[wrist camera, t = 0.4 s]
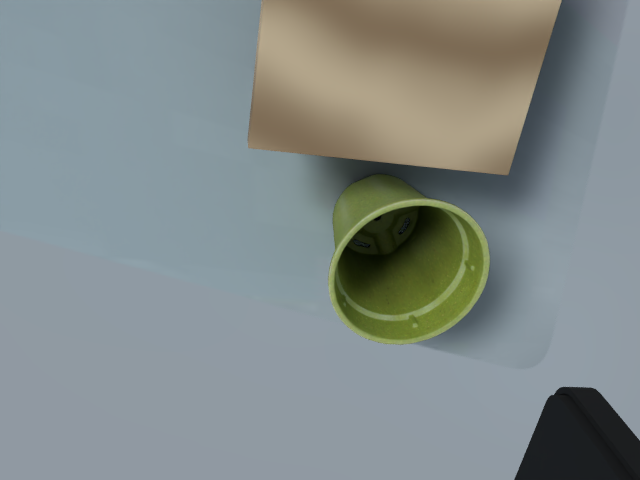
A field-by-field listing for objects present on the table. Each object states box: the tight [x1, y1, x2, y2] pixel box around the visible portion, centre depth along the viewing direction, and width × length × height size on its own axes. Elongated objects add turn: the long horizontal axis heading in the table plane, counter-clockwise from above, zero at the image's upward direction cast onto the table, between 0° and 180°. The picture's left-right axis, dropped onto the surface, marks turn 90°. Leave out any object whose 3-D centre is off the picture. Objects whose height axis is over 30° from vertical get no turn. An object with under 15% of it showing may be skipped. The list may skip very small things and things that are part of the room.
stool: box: [248, 0, 562, 175], centre depth 31 cm, size 14×14×8 cm
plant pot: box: [328, 174, 490, 345], centre depth 37 cm, size 9×9×9 cm
